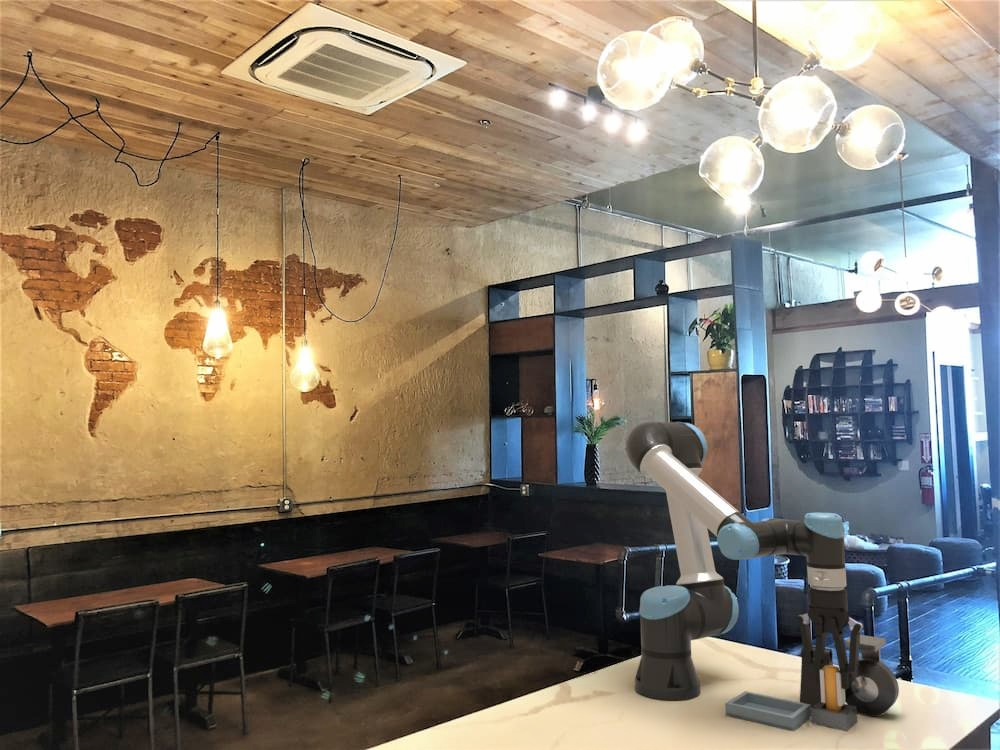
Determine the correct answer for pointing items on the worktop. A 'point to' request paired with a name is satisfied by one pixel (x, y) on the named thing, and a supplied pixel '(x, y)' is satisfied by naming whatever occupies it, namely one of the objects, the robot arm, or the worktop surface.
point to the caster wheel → (871, 680)
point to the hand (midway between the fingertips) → (833, 702)
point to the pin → (831, 687)
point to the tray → (768, 710)
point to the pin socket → (834, 716)
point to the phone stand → (811, 679)
